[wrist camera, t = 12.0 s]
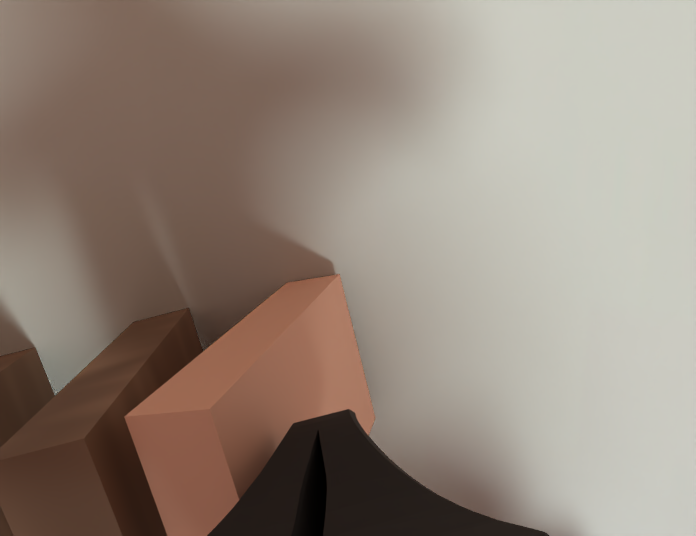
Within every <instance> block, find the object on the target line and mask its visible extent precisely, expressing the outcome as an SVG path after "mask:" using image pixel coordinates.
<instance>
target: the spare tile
mask: <svg viewBox="0 0 696 536" xmlns="http://www.w3.org/2000/svg"><path fill="white" fill-rule="evenodd" d="M347 409H350V410H352V411H353V412H355V414H356V418H357V420H358V422H359V423H360V425H361V427H362V428H363V429H364V431H365V432H366V433H367V435H368V436H369V433H370V431H371V428H372V426H373V423H374V421H375V415H374V411H373V407H372V403H371V399H370V395H369V391H368V387H367V383H366V378H365V374H364V370H363V366H362V362H361V358H360V354H359V350H358V346H357V342H356V338H355V334H354V330H353V326H352V322H351V318H350V314H349V310H348V306H347V302H346V298H345V294H344V290H343V286H342V282H341V278H340V274H337V275H331V276H325V277H319V278H313V279H307V280H301V281H294V282H288V283H286V284H285V285H283V286H282V287H281V288H280V289H279V290H277V291H276V292H275V293H274V294H272V295H271V296H270V297H269V298H268V299H266V300H265V301H264V302H263V303H262V304H260V305H259V306H258V307H257V308H255V309H254V310H253V311H252V312H251V313H249V314H248V315H247V316H246V317H245V318H243V319H242V320H241V321H240V322H239V323H237V324H236V325H235V326H234V327H232V328H231V329H230V330H229V331H228V332H226V333H225V334H224V335H223V336H222V337H220V338H219V339H218V340H217V341H215V342H214V343H213V344H212V345H211V346H209V347H208V348H207V349H206V350H205V351H203V352H202V353H201V354H200V355H198V356H197V357H196V358H195V359H194V360H192V361H191V362H190V363H189V364H188V365H186V366H185V367H184V368H183V369H181V370H180V371H179V372H178V373H177V374H175V375H174V376H173V377H172V378H171V379H169V380H168V381H167V382H166V383H164V384H163V385H162V386H161V387H160V388H158V389H157V390H156V391H155V392H154V393H152V394H151V395H150V396H149V397H147V398H146V399H145V400H144V401H143V402H141V403H140V404H139V405H138V406H137V407H135V408H134V409H133V410H132V411H130V412H129V413H128V414H127V415H126V416H124V418H125V420H126V423H127V426H128V429H129V431H130V434H131V437H132V440H133V442H134V445H135V448H136V451H137V453H138V456H139V459H140V462H141V464H142V467H143V470H144V473H145V475H146V478H147V481H148V484H149V486H150V489H151V492H152V495H153V497H154V500H155V503H156V506H157V508H158V511H159V514H160V517H161V519H162V522H163V525H164V528H165V530H166V533H167V536H207V535H208V534H209V533H210V532H211V531H212V530H213V529H214V528H215V527H216V526H217V525H218V524H219V523H220V522H221V521H222V519H223V518H224V517H225V516H226V515H227V514H228V513H229V512H230V510H231V509H232V508H233V507H234V506H235V505H236V503H237V502H238V501H239V500H240V498H241V497H242V496H243V494H244V493H245V492H246V491H247V489H248V488H249V487H250V485H251V484H252V483H253V482H254V480H255V479H256V478H257V476H258V475H259V474H260V472H261V471H262V470H263V468H264V467H265V465H266V464H267V462H268V461H269V459H270V458H271V456H272V455H273V453H274V452H275V450H276V449H277V447H278V446H279V444H280V442H281V441H282V439H283V438H284V436H285V435H286V433H287V432H288V430H289V429H290V427H291V426H292V424H293V423H296V422H300V421H303V420H307V419H311V418H315V417H319V416H323V415H327V414H331V413H335V412H339V411H343V410H347Z"/></svg>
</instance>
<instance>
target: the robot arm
mask: <svg viewBox="0 0 696 536" xmlns="http://www.w3.org/2000/svg"><path fill="white" fill-rule="evenodd" d="M207 536H549V535H548V534H547V533H545V532H543V531H539V530H535V529H531V528H527V527H523V526H519V525H515V524H511V523H507V522H503V521H499V520H496V519H493V518H490V517H487V516H484V515H482V514H479V513H476V512H473V511H471V510H468V509H466V508H464V507H461V506H459V505H457V504H455V503H453V502H451V501H449V500H447V499H445V498H443V497H441V496H439V495H437V494H436V493H434V492H432V491H431V490H429V489H428V488H426V487H425V486H423V485H422V484H420V483H419V482H417V481H416V480H414V479H413V478H412V477H410V476H409V475H408V474H407V473H405V472H404V471H403V470H402V469H401V468H399V467H398V466H397V465H396V464H395V463H394V462H393V461H392V460H390V459H389V458H388V457H387V456H386V455H385V454H384V453H383V452H382V451H381V450H380V448H379V447H378V446H377V445H376V444H375V443H374V442H373V441H372V440H371V438H370V437H369V436H368V435H367V433H366V432H365V431H364V429H363V428H362V427H361V425H360V423H359V422H358V420H357V418H356V414H355V412H353V411H352V410H350V409H347V410H343V411H339V412H335V413H331V414H327V415H323V416H319V417H315V418H311V419H307V420H303V421H300V422H296V423H293V424H292V426H291V427H290V429H289V430H288V432H287V433H286V435H285V436H284V438H283V439H282V441H281V442H280V444H279V446H278V447H277V449H276V450H275V452H274V453H273V455H272V456H271V458H270V459H269V461H268V462H267V464H266V465H265V467H264V468H263V470H262V471H261V472H260V474H259V475H258V476H257V478H256V479H255V480H254V482H253V483H252V484H251V485H250V487H249V488H248V489H247V491H246V492H245V493H244V494H243V496H242V497H241V498H240V500H239V501H238V502H237V503H236V505H235V506H234V507H233V508H232V509H231V510H230V512H229V513H228V514H227V515H226V516H225V517H224V518H223V519H222V521H221V522H220V523H219V524H218V525H217V526H216V527H215V528H214V529H213V530H212V531H211V532H210V533H209V534H208V535H207Z"/></svg>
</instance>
